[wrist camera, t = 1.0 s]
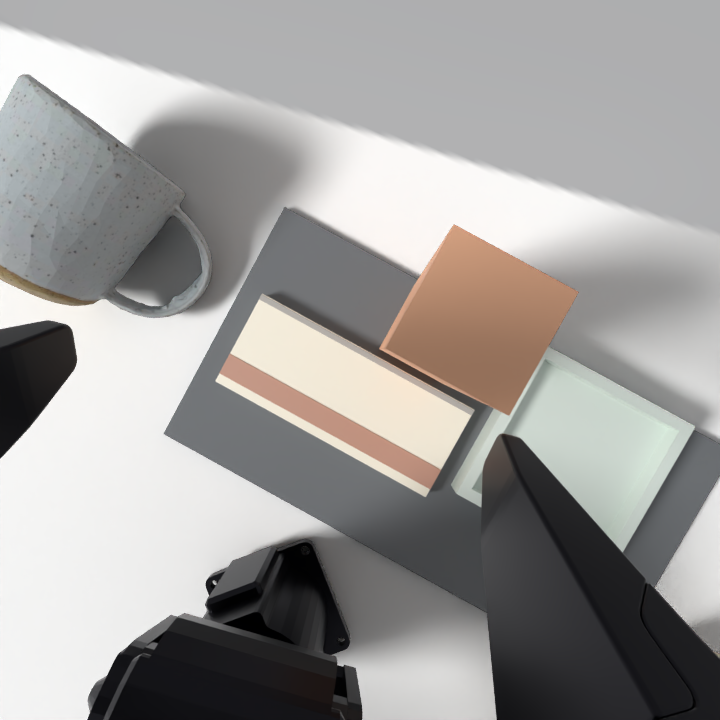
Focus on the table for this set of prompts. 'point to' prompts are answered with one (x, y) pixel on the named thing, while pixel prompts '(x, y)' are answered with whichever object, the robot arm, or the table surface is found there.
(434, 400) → the strip
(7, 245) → the ceramic mug
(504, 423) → the tray
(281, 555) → the robot arm
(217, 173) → the table surface
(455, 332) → the stub
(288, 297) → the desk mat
